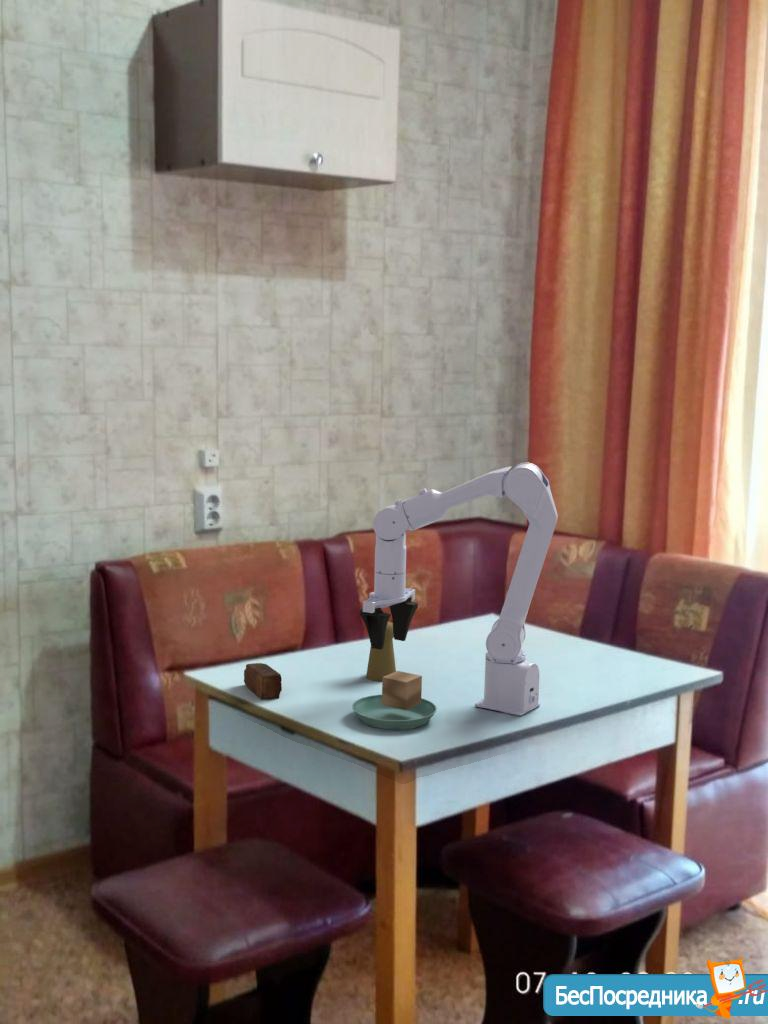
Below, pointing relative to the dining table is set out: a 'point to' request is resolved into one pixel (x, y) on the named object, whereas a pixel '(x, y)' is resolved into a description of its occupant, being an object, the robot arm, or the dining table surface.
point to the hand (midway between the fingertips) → (388, 644)
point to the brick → (263, 680)
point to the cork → (382, 658)
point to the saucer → (392, 713)
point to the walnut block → (401, 690)
